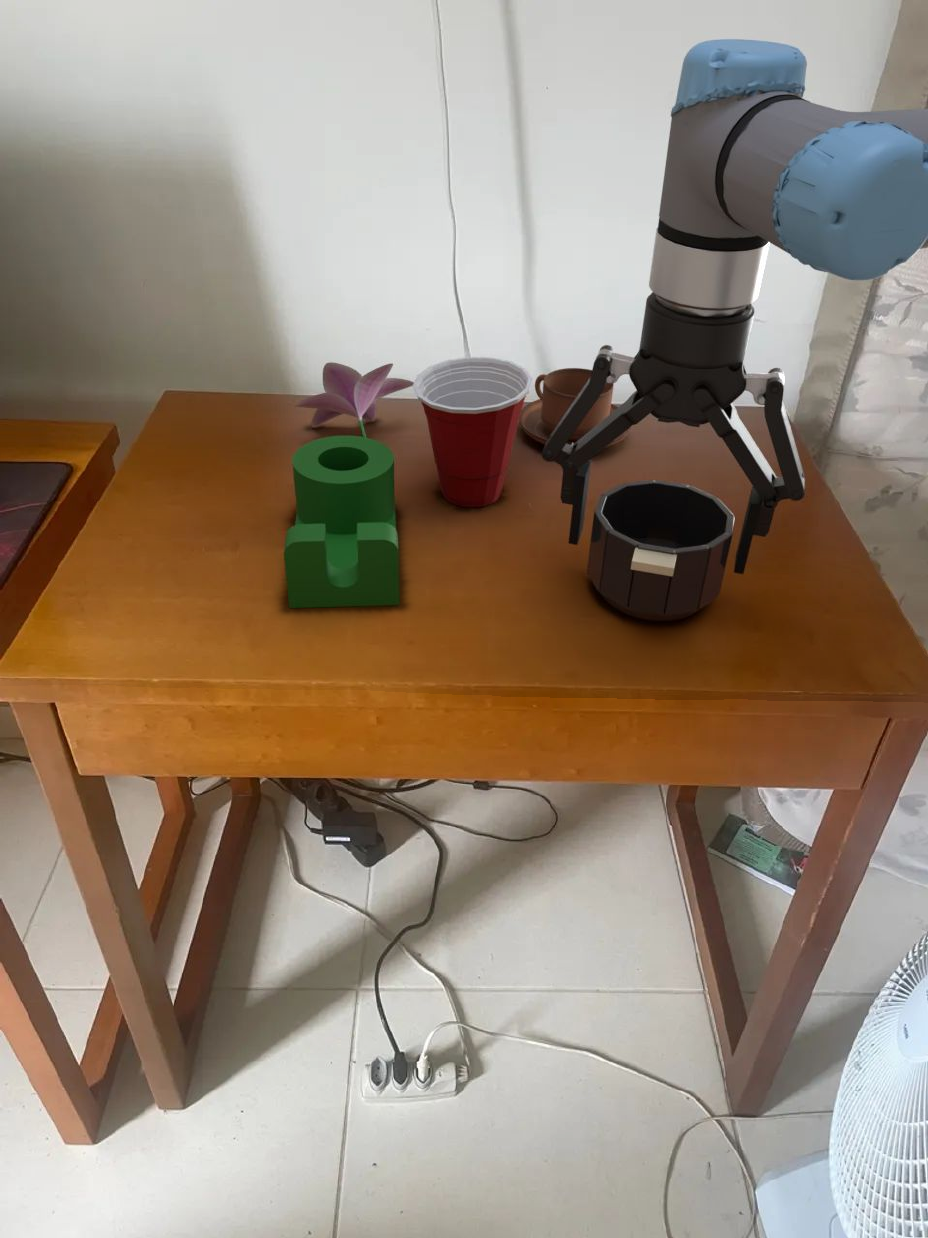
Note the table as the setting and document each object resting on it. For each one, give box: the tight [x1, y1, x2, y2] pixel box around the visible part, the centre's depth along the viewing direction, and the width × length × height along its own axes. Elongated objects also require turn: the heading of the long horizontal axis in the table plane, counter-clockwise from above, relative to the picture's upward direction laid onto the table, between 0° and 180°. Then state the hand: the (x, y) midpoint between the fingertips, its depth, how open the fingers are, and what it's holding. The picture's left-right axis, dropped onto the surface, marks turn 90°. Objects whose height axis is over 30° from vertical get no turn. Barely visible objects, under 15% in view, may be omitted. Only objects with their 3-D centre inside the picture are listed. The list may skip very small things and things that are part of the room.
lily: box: [293, 361, 415, 438], centre depth 102 cm, size 12×12×10 cm
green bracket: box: [283, 435, 400, 609], centre depth 86 cm, size 18×9×6 cm, turn 5°
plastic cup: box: [412, 356, 533, 508], centre depth 92 cm, size 11×11×12 cm
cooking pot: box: [586, 479, 736, 615], centre depth 80 cm, size 13×11×6 cm
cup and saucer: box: [518, 367, 632, 450], centre depth 104 cm, size 12×12×6 cm
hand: (656, 550), depth 82 cm, fingers open, 13 cm apart
